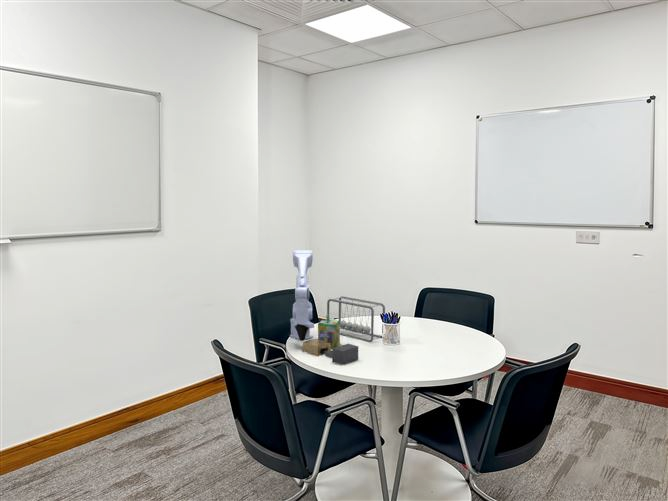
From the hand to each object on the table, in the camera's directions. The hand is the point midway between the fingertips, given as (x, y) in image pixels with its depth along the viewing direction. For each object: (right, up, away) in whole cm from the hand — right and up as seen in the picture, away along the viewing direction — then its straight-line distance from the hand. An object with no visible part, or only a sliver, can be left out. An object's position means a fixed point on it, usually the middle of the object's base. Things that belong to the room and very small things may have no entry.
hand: (302, 340), depth 240 cm
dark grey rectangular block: (+18, -5, -17) cm, 25 cm away
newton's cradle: (+26, -1, +22) cm, 34 cm away
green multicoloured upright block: (+13, -3, +3) cm, 13 cm away
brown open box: (+7, -4, -7) cm, 11 cm away
